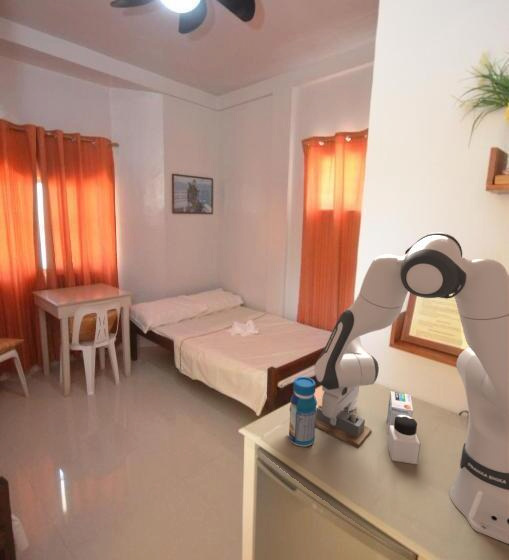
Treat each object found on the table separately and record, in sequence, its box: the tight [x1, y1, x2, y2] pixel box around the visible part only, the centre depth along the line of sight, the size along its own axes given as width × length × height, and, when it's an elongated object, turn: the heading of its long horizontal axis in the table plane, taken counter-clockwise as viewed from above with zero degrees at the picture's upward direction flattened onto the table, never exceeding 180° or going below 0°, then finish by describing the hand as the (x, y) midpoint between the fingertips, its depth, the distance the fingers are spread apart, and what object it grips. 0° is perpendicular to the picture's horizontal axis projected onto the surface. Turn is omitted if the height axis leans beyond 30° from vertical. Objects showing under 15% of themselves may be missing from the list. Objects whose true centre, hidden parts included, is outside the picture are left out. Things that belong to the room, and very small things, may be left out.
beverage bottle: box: [288, 376, 318, 447], centre depth 104 cm, size 8×8×20 cm
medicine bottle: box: [387, 415, 421, 465], centre depth 99 cm, size 7×7×12 cm
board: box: [315, 412, 372, 449], centre depth 111 cm, size 18×10×7 cm, turn 49°
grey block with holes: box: [316, 402, 366, 438], centre depth 111 cm, size 15×5×5 cm, turn 50°
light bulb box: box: [386, 390, 414, 436], centre depth 111 cm, size 11×7×11 cm, turn 160°
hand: (340, 417), depth 111 cm, fingers open, 8 cm apart
